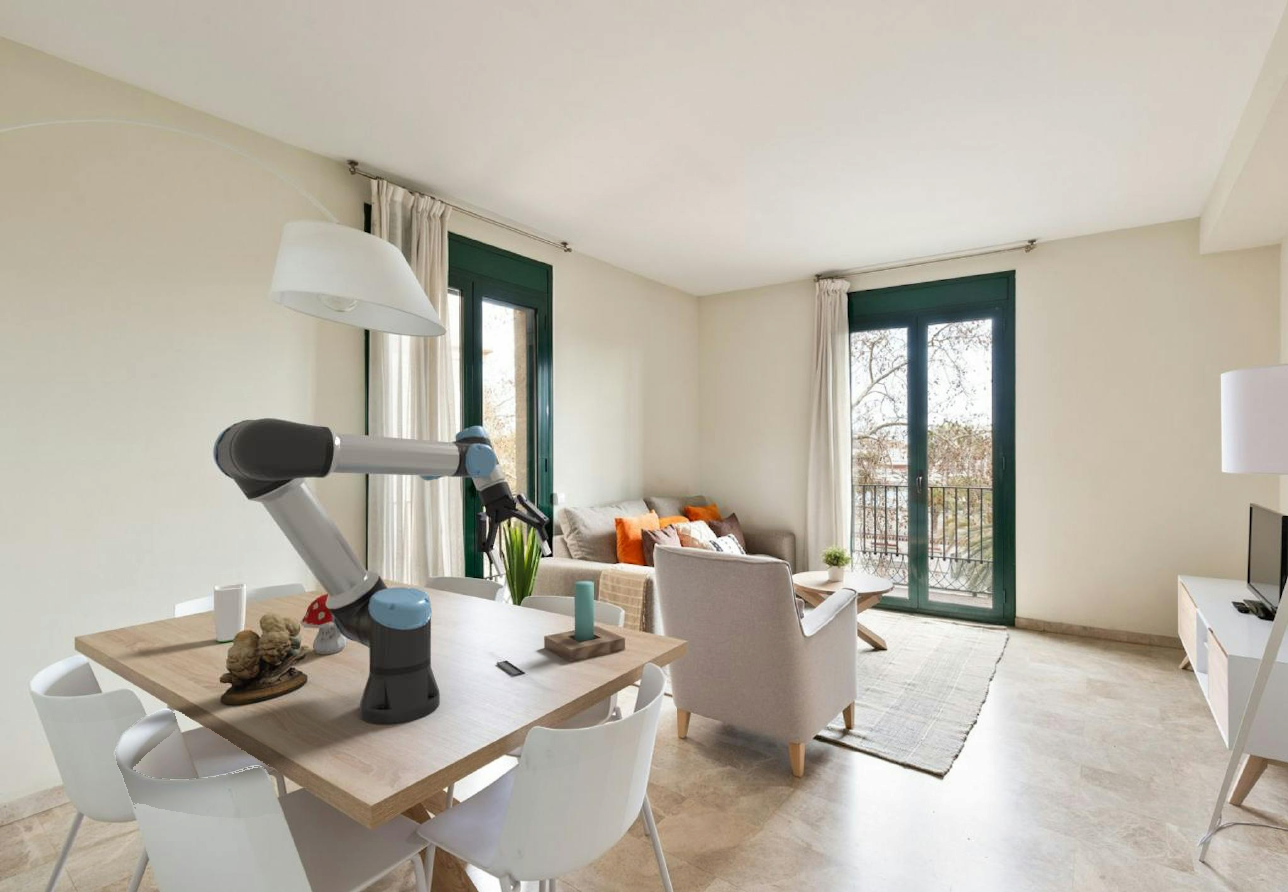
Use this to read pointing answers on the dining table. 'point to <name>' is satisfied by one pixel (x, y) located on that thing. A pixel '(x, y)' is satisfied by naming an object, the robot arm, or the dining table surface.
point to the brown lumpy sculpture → (264, 662)
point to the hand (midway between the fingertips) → (525, 564)
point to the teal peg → (584, 611)
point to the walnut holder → (584, 644)
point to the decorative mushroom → (323, 627)
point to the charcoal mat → (510, 668)
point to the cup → (229, 610)
